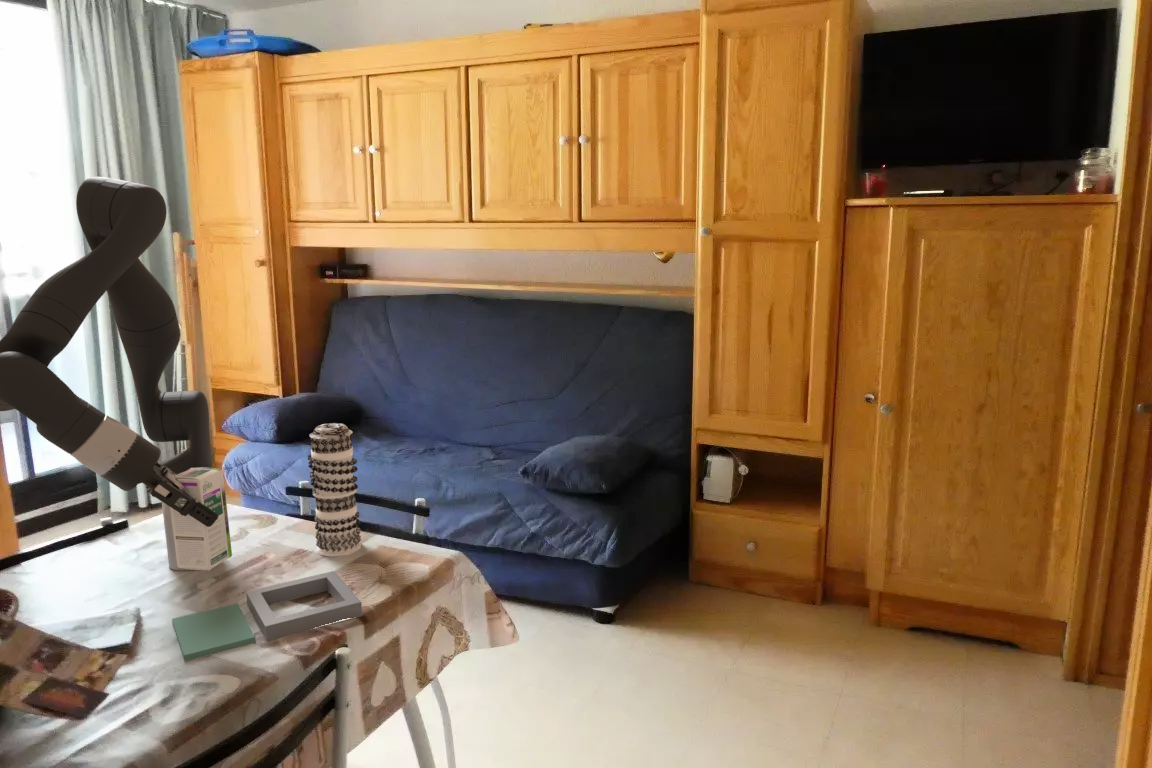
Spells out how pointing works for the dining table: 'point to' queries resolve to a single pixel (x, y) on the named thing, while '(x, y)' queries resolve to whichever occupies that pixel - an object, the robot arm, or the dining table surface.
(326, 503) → the decorative candle
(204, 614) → the pad
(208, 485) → the syrup box
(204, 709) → the dining table surface
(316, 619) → the pocket board
